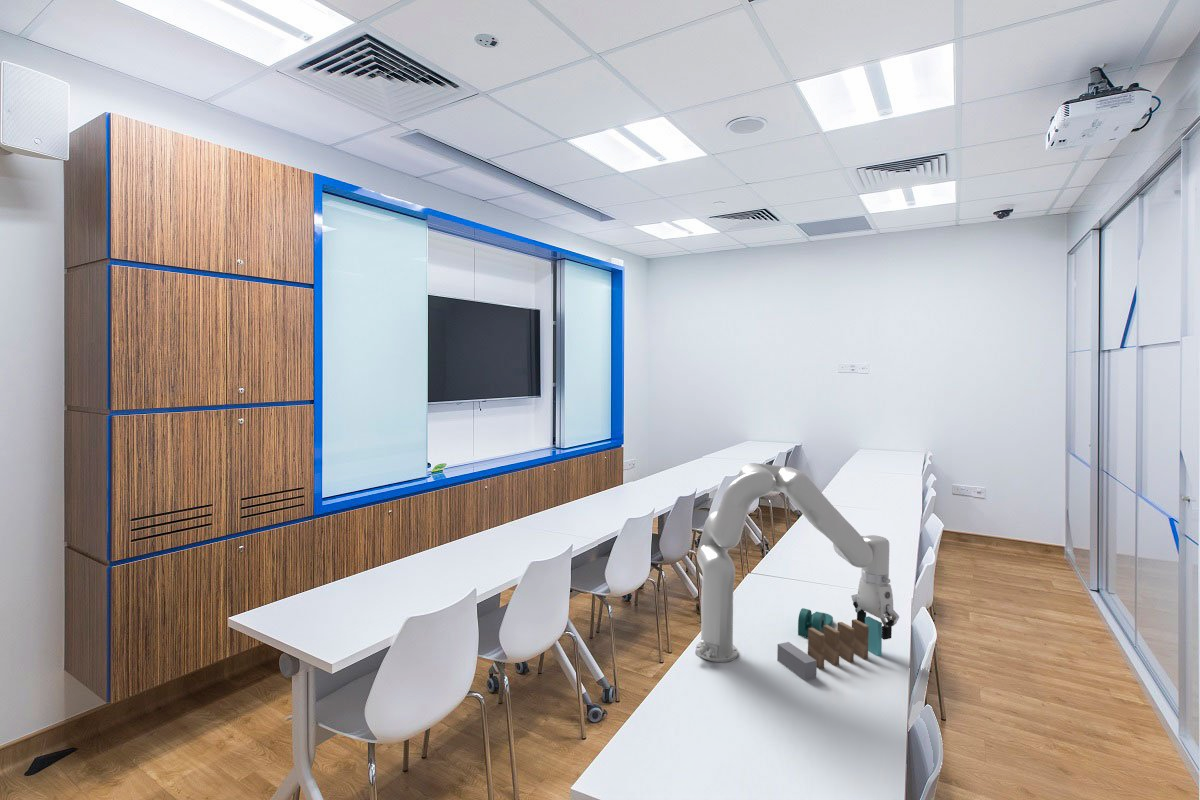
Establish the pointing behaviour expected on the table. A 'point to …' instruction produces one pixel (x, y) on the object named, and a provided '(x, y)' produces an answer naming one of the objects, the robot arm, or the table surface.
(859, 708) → the table surface
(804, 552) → the table surface
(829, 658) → the domino
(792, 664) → the block
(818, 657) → the domino
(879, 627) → the teal domino
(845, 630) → the domino
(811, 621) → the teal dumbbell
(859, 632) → the domino
